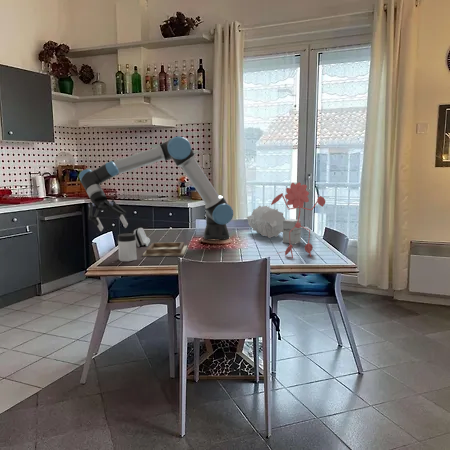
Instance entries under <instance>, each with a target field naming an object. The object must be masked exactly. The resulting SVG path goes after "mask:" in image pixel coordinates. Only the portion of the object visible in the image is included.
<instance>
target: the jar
mask: <svg viewBox="0 0 450 450" xmlns="http://www.w3.org/2000/svg"><path fill="white" fill-rule="evenodd" d="M133 233H134V232H133ZM133 233H131V232H130V233H128V232H126V233H120V234H119V233H118V235H117V244H118V245H117V246H118V247H117V248H118V251H117V252H118V260H119V261H120V262H131V261H136V260H138V257H137V255H138V253H137V243H136V240H135V234H133Z"/></svg>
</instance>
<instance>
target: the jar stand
mask: <svg viewBox="0 0 450 450" xmlns="http://www.w3.org/2000/svg"><path fill="white" fill-rule="evenodd" d="M187 249H188V245H185V242H184V241H182V242H181V241H178V242H177V241H175V242H174V241H173V242H169V241H168V242H151V243H150V244H149V246H147V248H146V249H145V251H144V252H143V253H142V257H155V256H156V257H163V256H164V257H166V256H167V257H168V256H180V257H181V256H185V253H186V251H187Z"/></svg>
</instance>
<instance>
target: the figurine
mask: <svg viewBox="0 0 450 450" xmlns="http://www.w3.org/2000/svg"><path fill="white" fill-rule="evenodd" d="M307 187H308V186H307V184H301V182H299V181H298V182H297V183H296V184H295V182H292V183H290V187H286V189H285V190H286V191H285V192H286V194H285V195H284V193H279V194H278V195H276V196H275V197H274V198H273V200H272V202H271V204H270V205H271V206H273V205H275V204H277V203H278V201H280V200H281V198H282V199H283V201H284V203H285V205H286V208H287V209H288V210H294V209H298V210H299V211H298V217H297V220H298V221H299V220H300V216H301V209H303V210H307V211H312V210H313V209H314V208H315V207H316V205H319V207H324V205H326V199H325V198H324V197H323V196H321V195H319V196H318V197H317V199H316V202H315V203H314V205H313V206H312V207H311V208H307V207H304V204H305V203H308V202H309V201H310V199H309V195H310V192H309V191H308V190H307ZM286 200H287V201H286ZM289 206H292V207H289ZM312 212H313V211H312ZM295 227H296V228H300V227H301V228H303V229H305V230H308V231H309V232H308V240H307V241H308V243H306V244H305V246H304V250H305V252H306V253H307V254H309V257H310V258H311V257H312V253H311V252H312V251H313V245H312V243H310V238H311V237H310V235H311V229H308V228H306V227H304V226H302V223H301V224H300V223H299V222H297V223H296V224H295ZM295 227H294V228H295ZM294 228H293V229H294ZM293 229H292V230H293ZM292 230H291V231H292ZM291 231H290V232H291ZM290 232H289V239H290ZM293 245H294V244H289V246H287V248H286V249H285V250H284V256H288V254H289V253H291V258H292V259H293V258H294V255H293V254H294V253H293ZM280 253H282V251H280V252H277V253H276V255H278V254H280Z"/></svg>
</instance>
